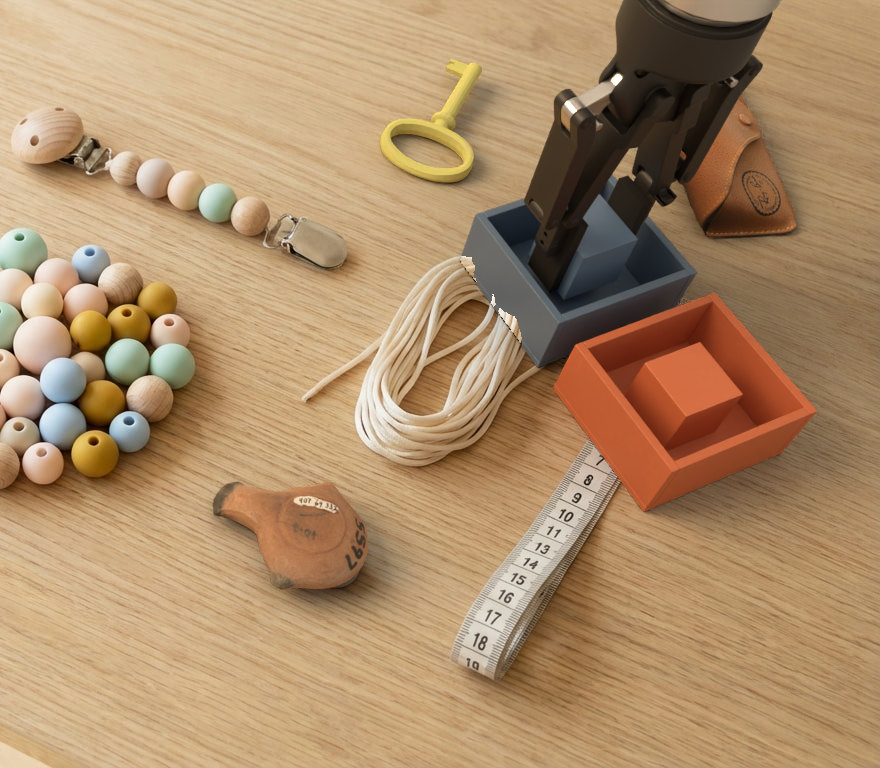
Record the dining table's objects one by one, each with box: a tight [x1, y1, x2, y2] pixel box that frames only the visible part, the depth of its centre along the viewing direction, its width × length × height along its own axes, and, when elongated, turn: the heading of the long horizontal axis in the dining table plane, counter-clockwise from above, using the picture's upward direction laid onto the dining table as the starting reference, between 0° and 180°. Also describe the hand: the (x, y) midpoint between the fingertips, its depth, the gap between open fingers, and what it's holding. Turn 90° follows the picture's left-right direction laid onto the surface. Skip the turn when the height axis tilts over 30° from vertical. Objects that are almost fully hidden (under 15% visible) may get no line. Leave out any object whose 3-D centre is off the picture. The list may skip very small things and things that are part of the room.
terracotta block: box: [625, 342, 743, 451], centre depth 78 cm, size 4×4×4 cm
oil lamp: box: [212, 481, 369, 590], centre depth 73 cm, size 9×4×8 cm
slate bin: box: [460, 174, 698, 368], centre depth 85 cm, size 11×10×5 cm
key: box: [379, 58, 483, 184], centre depth 95 cm, size 7×12×2 cm, turn 170°
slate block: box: [529, 194, 638, 300], centre depth 83 cm, size 4×4×4 cm
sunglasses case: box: [680, 93, 798, 239], centre depth 94 cm, size 18×7×7 cm
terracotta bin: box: [552, 292, 818, 512], centre depth 79 cm, size 11×10×5 cm
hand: (573, 265), depth 84 cm, fingers closed on slate block, 4 cm apart
